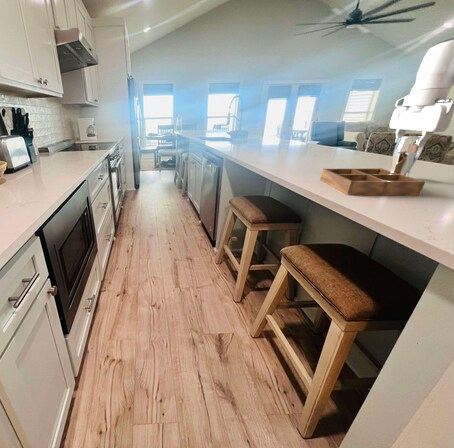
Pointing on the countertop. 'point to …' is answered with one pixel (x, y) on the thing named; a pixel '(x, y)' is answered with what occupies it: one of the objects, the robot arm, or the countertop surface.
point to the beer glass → (405, 154)
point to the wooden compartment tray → (371, 182)
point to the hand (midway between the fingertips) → (408, 144)
